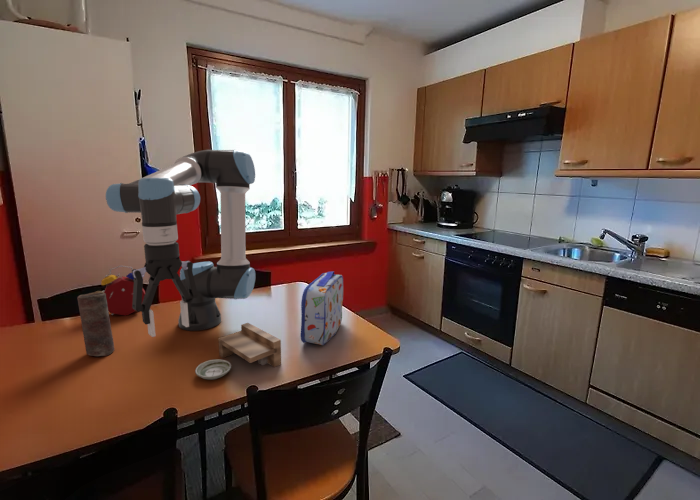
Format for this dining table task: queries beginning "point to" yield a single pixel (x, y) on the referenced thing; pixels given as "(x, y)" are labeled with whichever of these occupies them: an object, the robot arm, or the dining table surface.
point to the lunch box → (321, 308)
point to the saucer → (213, 369)
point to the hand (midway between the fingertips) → (169, 329)
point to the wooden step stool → (252, 345)
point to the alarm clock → (120, 293)
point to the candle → (96, 324)
